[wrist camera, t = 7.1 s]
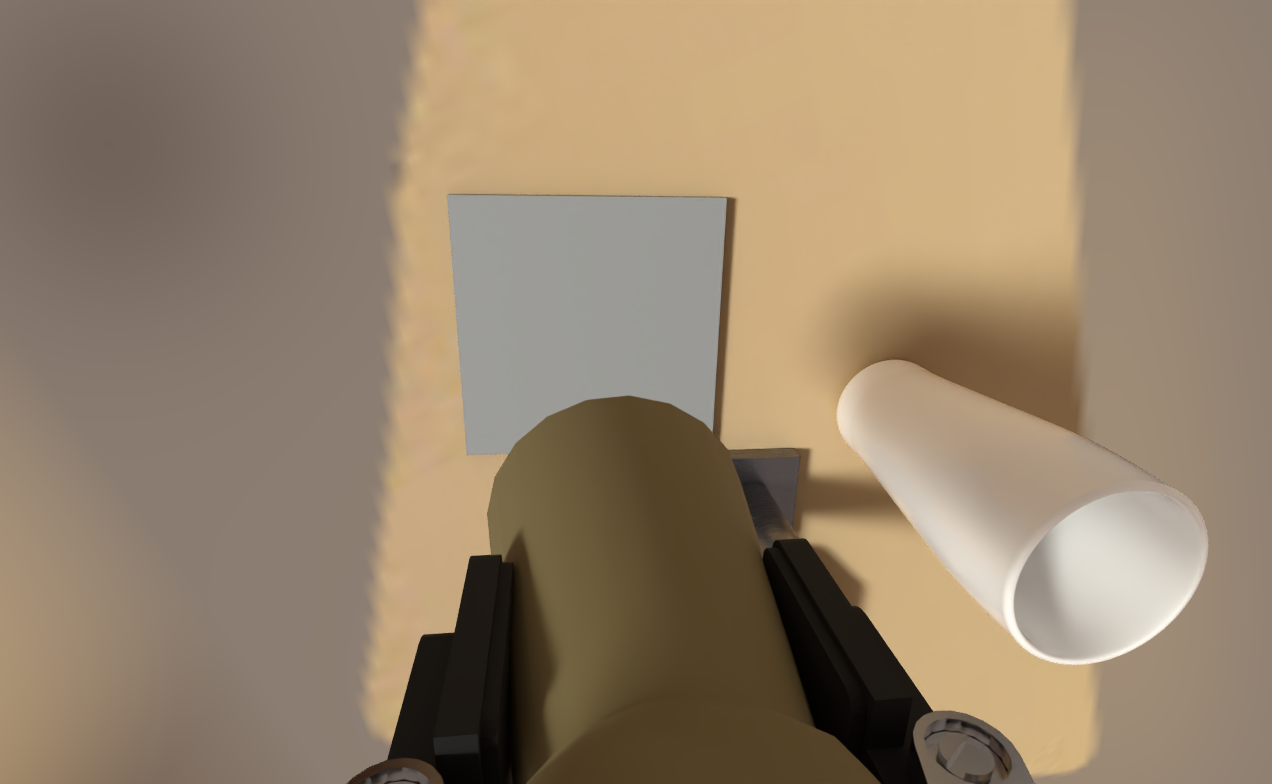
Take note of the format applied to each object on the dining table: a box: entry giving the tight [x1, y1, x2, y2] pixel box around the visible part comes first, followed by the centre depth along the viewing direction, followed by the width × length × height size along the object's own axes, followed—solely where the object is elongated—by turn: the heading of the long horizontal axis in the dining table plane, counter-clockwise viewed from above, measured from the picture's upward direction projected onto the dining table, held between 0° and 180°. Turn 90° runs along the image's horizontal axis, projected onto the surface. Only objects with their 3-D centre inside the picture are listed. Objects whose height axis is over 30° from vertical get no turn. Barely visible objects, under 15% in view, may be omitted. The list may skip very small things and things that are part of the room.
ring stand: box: [728, 448, 800, 553], centre depth 29 cm, size 15×10×16 cm, turn 179°
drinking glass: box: [837, 360, 1208, 665], centre depth 27 cm, size 7×7×15 cm
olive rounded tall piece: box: [487, 395, 881, 784], centre depth 10 cm, size 6×6×11 cm
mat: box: [447, 194, 727, 455], centre depth 31 cm, size 12×12×1 cm
